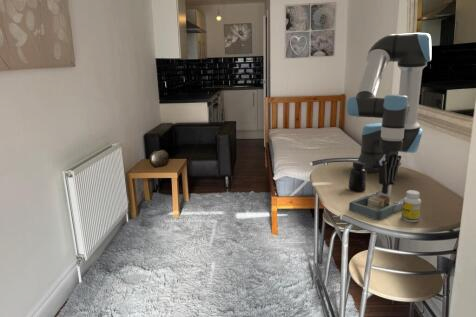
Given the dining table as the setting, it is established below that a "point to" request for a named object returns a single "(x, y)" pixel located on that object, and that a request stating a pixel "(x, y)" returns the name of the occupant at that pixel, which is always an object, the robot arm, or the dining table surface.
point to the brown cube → (385, 198)
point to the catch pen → (370, 209)
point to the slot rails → (396, 208)
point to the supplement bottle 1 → (357, 177)
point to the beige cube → (376, 203)
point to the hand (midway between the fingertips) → (385, 201)
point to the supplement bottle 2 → (411, 206)
